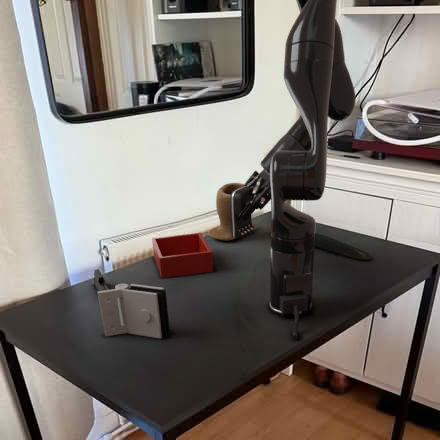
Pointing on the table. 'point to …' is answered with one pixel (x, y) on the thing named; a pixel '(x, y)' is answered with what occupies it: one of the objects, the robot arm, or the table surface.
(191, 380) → the table surface
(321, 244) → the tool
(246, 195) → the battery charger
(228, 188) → the stone cup
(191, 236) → the open red box
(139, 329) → the hinge
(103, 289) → the lighting fixture
